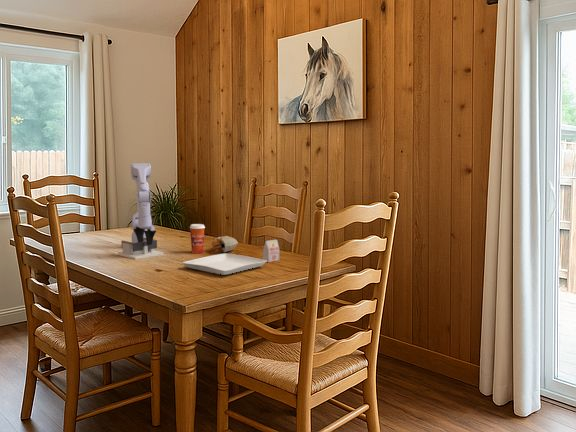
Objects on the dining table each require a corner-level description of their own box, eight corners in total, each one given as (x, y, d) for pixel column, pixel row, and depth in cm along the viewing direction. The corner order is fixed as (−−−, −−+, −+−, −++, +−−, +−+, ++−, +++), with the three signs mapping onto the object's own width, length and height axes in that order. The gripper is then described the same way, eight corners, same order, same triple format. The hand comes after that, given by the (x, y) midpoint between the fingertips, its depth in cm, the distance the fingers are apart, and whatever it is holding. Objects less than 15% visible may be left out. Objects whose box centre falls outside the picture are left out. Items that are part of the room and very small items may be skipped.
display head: (117, 254, 286) (116, 242, 285) (145, 250, 298) (145, 238, 297) (135, 259, 275) (135, 246, 275) (163, 254, 287) (163, 242, 286)
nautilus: (217, 258, 283) (194, 256, 292) (245, 248, 300) (223, 247, 309) (215, 242, 282) (193, 240, 290) (244, 233, 299) (222, 232, 308)
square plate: (225, 260, 277) (225, 252, 277) (268, 268, 260) (268, 259, 260) (180, 269, 257) (180, 260, 256) (224, 279, 239) (224, 269, 239)
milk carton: (263, 261, 273) (263, 240, 272) (274, 259, 277) (274, 239, 276) (268, 262, 270) (268, 241, 269) (279, 261, 275) (279, 240, 273)
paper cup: (190, 254, 289) (190, 226, 287) (189, 251, 296) (188, 224, 294) (206, 253, 291) (206, 225, 289) (204, 250, 298) (204, 223, 297)
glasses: (121, 248, 286) (121, 240, 285) (144, 245, 295) (144, 237, 295) (134, 251, 278) (134, 243, 278) (157, 248, 288) (157, 240, 287)
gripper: (160, 216, 279) (160, 244, 281) (143, 213, 289) (143, 241, 291) (147, 218, 274) (148, 246, 276) (130, 215, 284) (131, 242, 286)
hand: (144, 243), depth 283 cm, fingers open, 7 cm apart
